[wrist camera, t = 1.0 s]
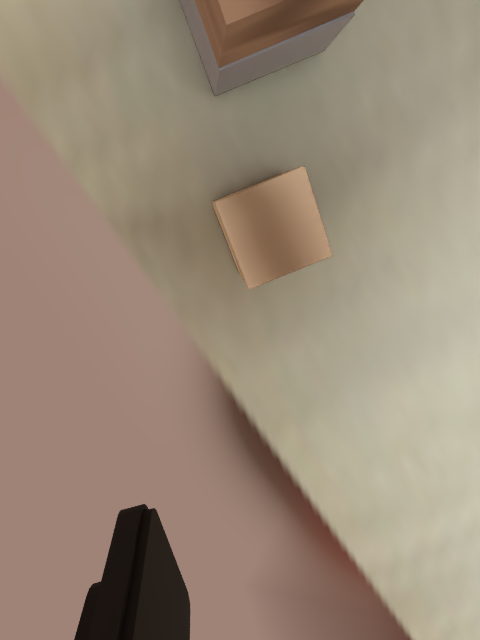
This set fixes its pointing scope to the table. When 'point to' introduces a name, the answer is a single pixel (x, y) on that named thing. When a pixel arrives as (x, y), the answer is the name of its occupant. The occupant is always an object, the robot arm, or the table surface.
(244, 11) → the top block
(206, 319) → the table surface
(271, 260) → the oak cube
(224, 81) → the base block
